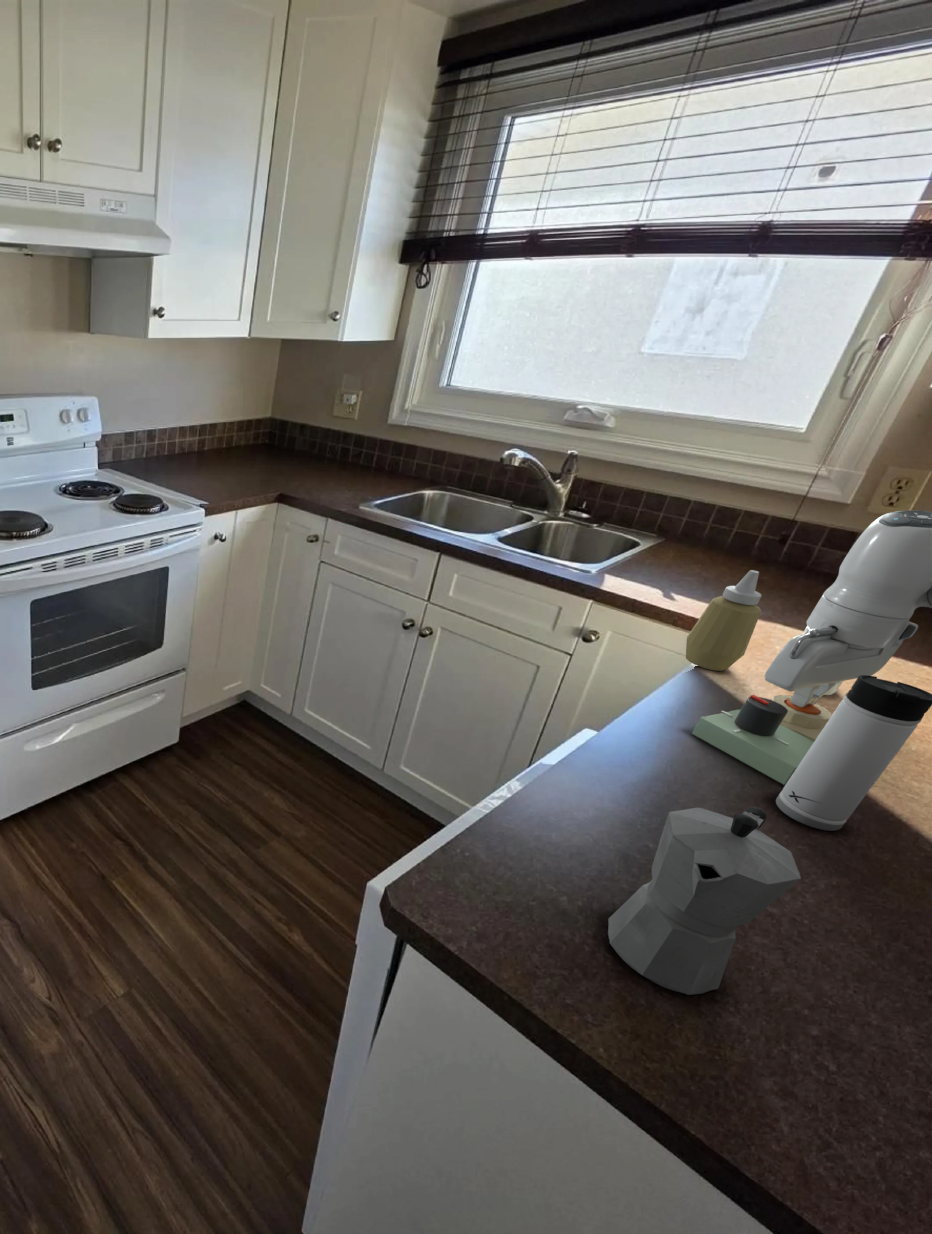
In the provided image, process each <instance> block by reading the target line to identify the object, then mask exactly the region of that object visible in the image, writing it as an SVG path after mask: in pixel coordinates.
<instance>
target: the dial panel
mask: <svg viewBox="0 0 932 1234" xmlns="http://www.w3.org/2000/svg"><path fill="white" fill-rule="evenodd" d="M741 709H742V708H740V709H735V710H730V711H725V710H721V711H720V713H716V714H715V713H714V714H711V715H706V716H700V718H699V720H698V721H697V723H696V725H695V727H694V729H693V731H692V733H691V735H694V736H695V737H697V738H698V739H701V740H702V741H704V742H706V743H708V744H709V745H711V746H713V747H715V748H717V749H719V750H721V751H722V752H723V753H726V754H727V755H730V756H731V757H733V758H735V759H737V760H739V761H740V762H742V763H744V764H746V765H748V766H749V767H751V768H753V769H754V770H756V771H758V772H760V773H762V774H764V775H765V776H767V777H769V778H771V779H773V780H774V781H776V782H778V783H780V784H781V785H783V786H785V785H786V784H787V782H788V781H789V779H790V778H791V776H792V775H793V773H794V772H795V770H796V769H797V767H798V766H799V764H800V763H801V761H802V760H803V758H804V757H805V755H806V754H807V752H808V751H809V749H810V748H811V746H812V745H813V743H814V741H812V740H810V739H808V738H806V737H804V736H802V735H800V734H798V733H796V732H794V731H792V730H790V729H788V728H786V727H784V726H782V725H779V727H778V728H777V730H776V732H775V733H774V735H772V736H761V735H756V734H753V733H750V732H748V731H746V730H744V729H742V728H740V727H739V726H737V725H736V724H735V722H734V721H735V719H736V717H737V715H738V714H739V712H740V710H741Z"/></svg>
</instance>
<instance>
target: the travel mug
mask: <svg viewBox="0 0 932 1234" xmlns="http://www.w3.org/2000/svg"><path fill="white" fill-rule="evenodd" d="M931 707H932V693H931V692H929V691H926V690H924V689H921V688H919V687H917V686H915V685H914V686H913V685H911V684H908V683H904V682H900V681H897V682H894V681H890V680H887V679H882V678H878V676H876V675H875V676H874V675H871V676H869V675H861V676H859V677H858V678H856V679H855V681H854V683H853V684H852V686H851V687H850V689H849V691H848V692H847V693H846V694H845V695H844V697H843V699H842V700H841V701H840V702H839V704H838V705H837V707H836V709H835V710H834V712H833V713H832V716H831V718H830V719H829V721H828V722H827V724H826V725H825V727H824V728H823V730H822V731H821V733H820V734H819V736H818V737H817V739H816V740H815V742H814V743H813V745H812V746H811V748H810V749H809V751H808V752H807V754H806V755H805V757H804V758H803V760H802V761H801V763H800V764H799V766H798V767H797V769H796V770H795V772H794V773H793V775H792V776H791V778H790V779H789V781H788V782H787V784H785V785H784V786H783V788H782V790H781V791H780V792H779V794H778V796H777V797H776V799H775V804H776V806H777V807H778V809H779V810H780V811H781V812H782V813H784V814H785V815H786V816H787V817H788V818H791V819H792V820H794V821H796V822H798V823H800V824H802V825H805V826H807V827H810V828H813V829H817V830H821V831H828V832H833V831H834V832H835V831H839V830H841V829H842V828H843V827H844V825H845V823H847V821H848V819H849V818H850V817H851V816H852V815H853V813H854V812H855V811H856V809H857V808H858V807H859V805H860V804H861V803H862V801H863V800H864V798H865V797H866V796H867V794H868V793H869V791H870V790H871V789H872V788H873V787H874V785H875V784H876V782H877V781H878V779H879V778H880V777H881V775H882V774H883V773H884V771H885V770H886V769H887V768H888V766H889V765H890V763H891V762H892V761H893V760H894V758H895V757H896V756H897V754H898V753H899V751H900V750H901V749H902V747H903V746H904V745H905V744H906V742H907V741H908V739H909V738H910V736H911V735H912V734H913V733H914V731H915V730H916V728H917V727H918V724H920V723H921V722H922V720H923V718H924V716H925V714H926V713H927V712H928V711H929V710H930V709H931Z"/></svg>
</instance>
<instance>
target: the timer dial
mask: <svg viewBox="0 0 932 1234" xmlns="http://www.w3.org/2000/svg"><path fill="white" fill-rule="evenodd" d="M740 709H741V710H740V712H739V714H738V715H737V717H736V719H735V721H734V722H735V724H736V725H737V726H739V727H740V728H742V729H744V730H746V731H748V732H750V733H753V734H756V735H761V736H772V735H774V733H775V732H776V730H777V728H778V727H779V725H780V724H781V722H782V720H783V719H784V717H785V716H786V714H787V713H788V710H787V709H786V708H785V707H784V706H783V705H781V704H779V703H777V702H775V701H772V700H770V699H769V698H766V697H762V696H757V695H756V694H750V696H749V697H747V698H746V700H745V702H744V704H743V705H742V706H741V708H740Z"/></svg>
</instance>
